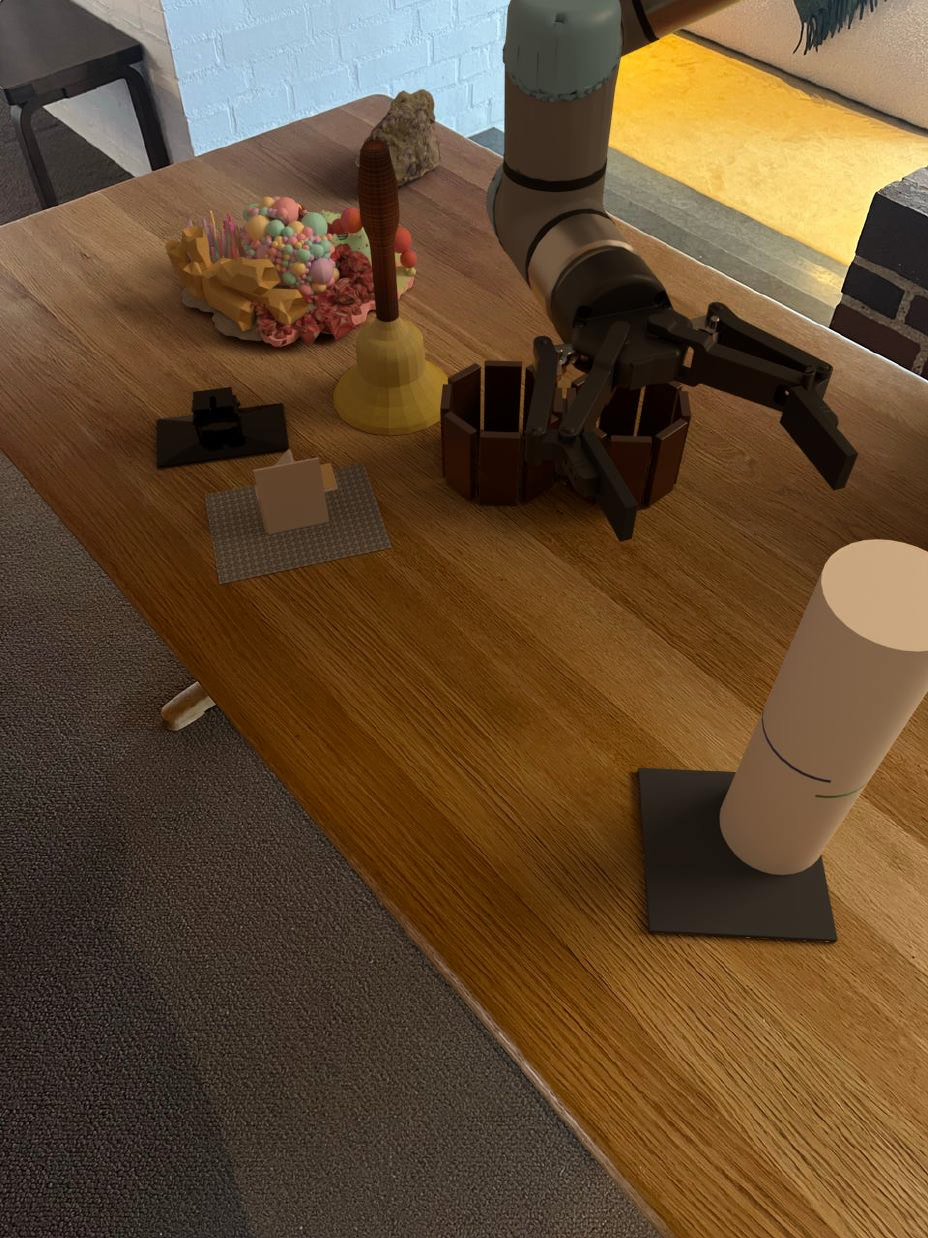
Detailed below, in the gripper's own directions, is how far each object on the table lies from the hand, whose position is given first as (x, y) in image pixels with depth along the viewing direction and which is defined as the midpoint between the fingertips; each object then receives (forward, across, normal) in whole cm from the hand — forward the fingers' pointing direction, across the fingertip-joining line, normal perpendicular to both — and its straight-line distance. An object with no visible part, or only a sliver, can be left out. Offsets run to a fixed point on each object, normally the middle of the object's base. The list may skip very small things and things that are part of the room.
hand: (740, 498), depth 54 cm
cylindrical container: (+10, -2, -23) cm, 25 cm away
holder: (-29, -1, -23) cm, 37 cm away
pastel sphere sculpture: (-66, +16, -23) cm, 72 cm away
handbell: (-44, +11, -23) cm, 51 cm away
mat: (+11, +1, -23) cm, 26 cm away
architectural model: (-29, +24, -23) cm, 44 cm away
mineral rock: (-87, -1, -23) cm, 90 cm away
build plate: (-43, +28, -23) cm, 56 cm away
